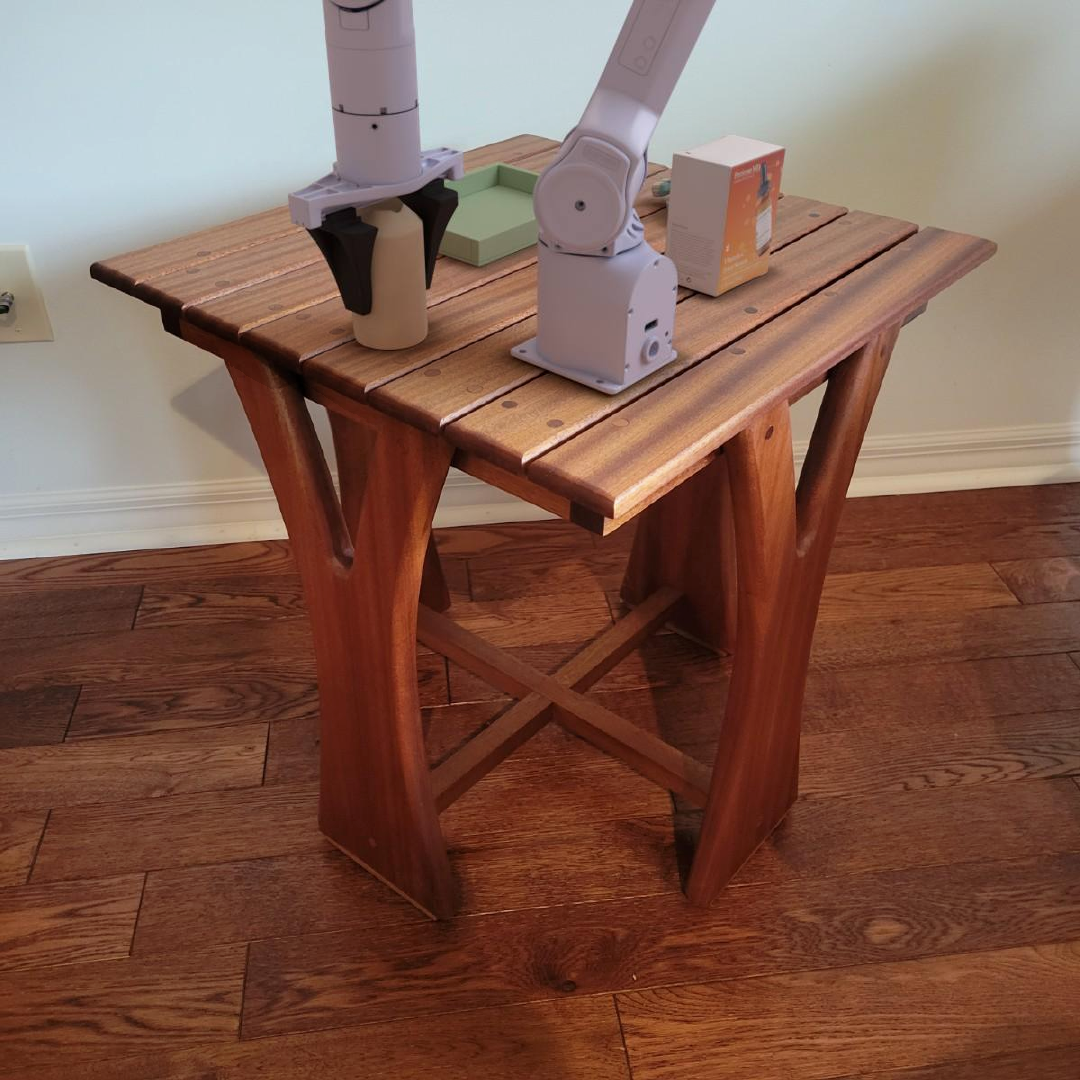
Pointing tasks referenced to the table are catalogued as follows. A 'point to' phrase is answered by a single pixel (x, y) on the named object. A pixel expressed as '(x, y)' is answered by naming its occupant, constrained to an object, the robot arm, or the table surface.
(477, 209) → the green tray
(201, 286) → the table surface
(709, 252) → the small box
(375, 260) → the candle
